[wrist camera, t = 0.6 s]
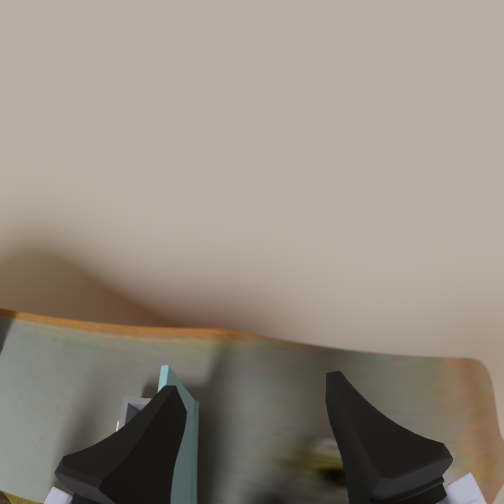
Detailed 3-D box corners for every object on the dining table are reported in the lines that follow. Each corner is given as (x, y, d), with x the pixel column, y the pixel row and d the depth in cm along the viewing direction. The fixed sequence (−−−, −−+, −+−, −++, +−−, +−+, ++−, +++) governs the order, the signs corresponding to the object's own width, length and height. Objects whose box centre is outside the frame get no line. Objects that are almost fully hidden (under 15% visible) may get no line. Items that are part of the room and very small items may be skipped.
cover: (188, 556, 10) (199, 557, 10) (150, 577, 5) (164, 581, 5) (191, 402, 24) (200, 403, 24) (161, 365, 19) (173, 365, 19)
